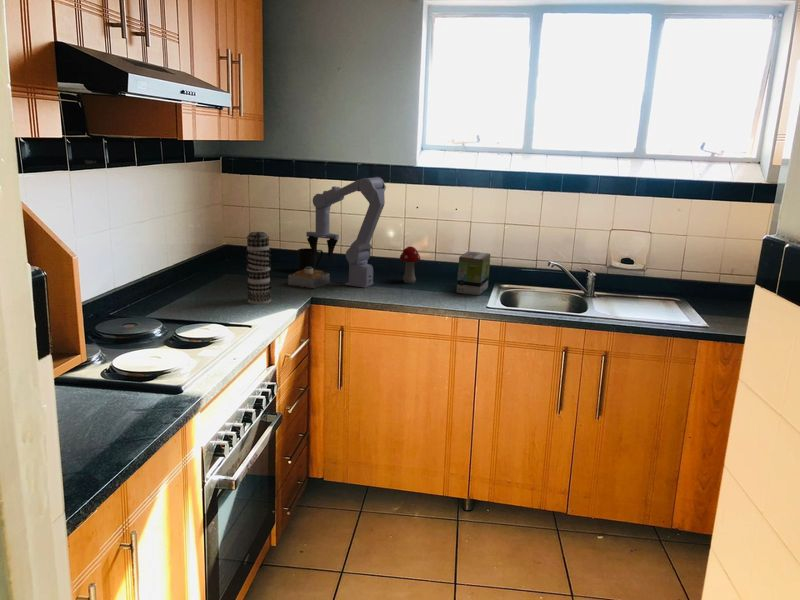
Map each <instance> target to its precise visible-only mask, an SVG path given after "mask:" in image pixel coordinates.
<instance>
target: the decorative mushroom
mask: <svg viewBox="0 0 800 600" xmlns="http://www.w3.org/2000/svg"><path fill="white" fill-rule="evenodd" d="M399 260H400V261H402V262H403V263H405V268H404V275H403V277H402V279H403V282H404V283H405V284H414V283H416V281H417V278H416V275H415V264H416V263H418V262H421V255H420V253H419V252H418V250H417V249H416V248H415V247H414V246H410V245H409V246H407V247H405V248H404V249H403V250H402V252H401V254H400V256H399Z"/></svg>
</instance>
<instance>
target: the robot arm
mask: <svg viewBox="0 0 800 600" xmlns="http://www.w3.org/2000/svg"><path fill="white" fill-rule="evenodd" d="M386 189H387V185H386V183H385V181H384V180H383V179H382V177H380V176H375V177H363V178H361V179H357V180H354V181H353V182H351V183H349V184H346V185H344V186H343V187H340V186H335V185H334V186H332V187H331V189H329V190H324V191H322V193H316V194H315V195H314V196H313V197H312V204H313V206H314V207H315V231H306V232H305V233H306V234H305V235H306V239H307V242H308V243H309V247H310V249H312V253H313V255H315V254H316V255H317V253H318V252H317V250H318V241H319V238H320V239H326V243H327V256H328V257H333V253H334V250H335V247H336V245H337V243H338V242H339V241H338V240H340V239H339V238H340V235H339V234H335V233H331V232H330V212H331V206H332V205H334V204H337V203H339V202H341V201H343V200H345V196H348V195H351V194H353V193H356V192H358V193H359V192H360V193H361V195H363V197H364V198H365V199H366V200H367V202H368V204H369V205H368V207H367V211H366V213H365V216H364V218H363V222H362V223H361V227H360V229H359V231H358V234H357V236H356V239H355V240H354V241H353V242H352V243H351V245H350V247H349V248H347V250H346V252H345V258H346V261H347V262H348V264H349V265H348V282H345V283H344V285H345V286H350V287H360V288H364V289H365V288H368V287H371V286H372V285H374V268H373V265H372V264H369V263H368V262H369V261H368V260H369V259H370V257H371V254H372V253H371V249H372V245H371V240H372V238H373V235H374V232H375V230H376V228H377V224H378V222H379V220H380V217H381V214H382V212H383V209H384V207H385V202H386V201H385V199H386V198H385V191H386Z"/></svg>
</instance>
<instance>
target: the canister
mask: <svg viewBox="0 0 800 600" xmlns="http://www.w3.org/2000/svg"><path fill="white" fill-rule="evenodd" d="M304 273H308V274H313V268H312V267H306V268H305V269H304Z"/></svg>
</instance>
